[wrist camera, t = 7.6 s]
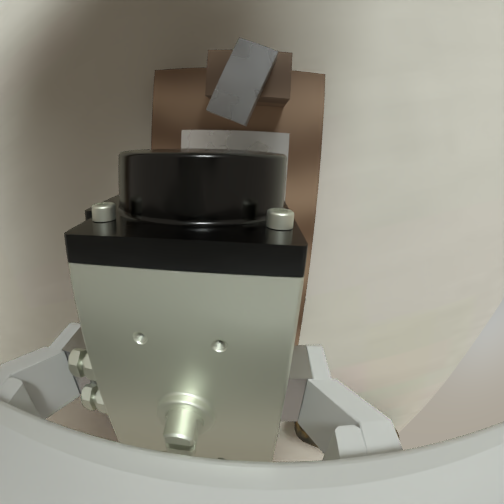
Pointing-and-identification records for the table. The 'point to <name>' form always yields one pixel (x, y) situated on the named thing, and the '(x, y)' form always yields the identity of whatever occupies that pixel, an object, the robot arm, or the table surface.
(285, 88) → the shaft rig base
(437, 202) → the table surface
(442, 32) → the table surface
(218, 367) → the pneumatic valve
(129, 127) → the table surface
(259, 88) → the grey long bracket
